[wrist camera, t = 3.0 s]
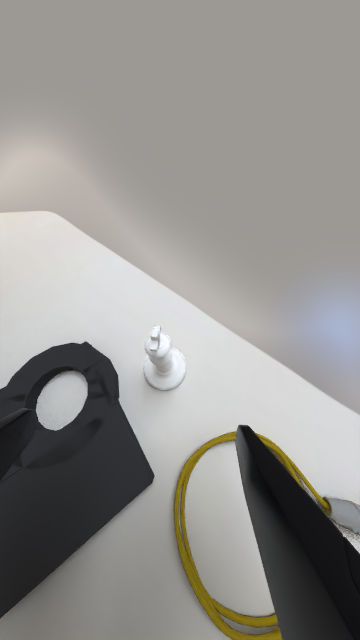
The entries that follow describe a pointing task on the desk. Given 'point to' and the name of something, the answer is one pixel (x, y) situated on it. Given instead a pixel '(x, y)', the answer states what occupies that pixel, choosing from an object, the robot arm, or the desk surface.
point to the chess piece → (163, 361)
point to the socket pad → (64, 471)
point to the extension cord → (339, 510)
